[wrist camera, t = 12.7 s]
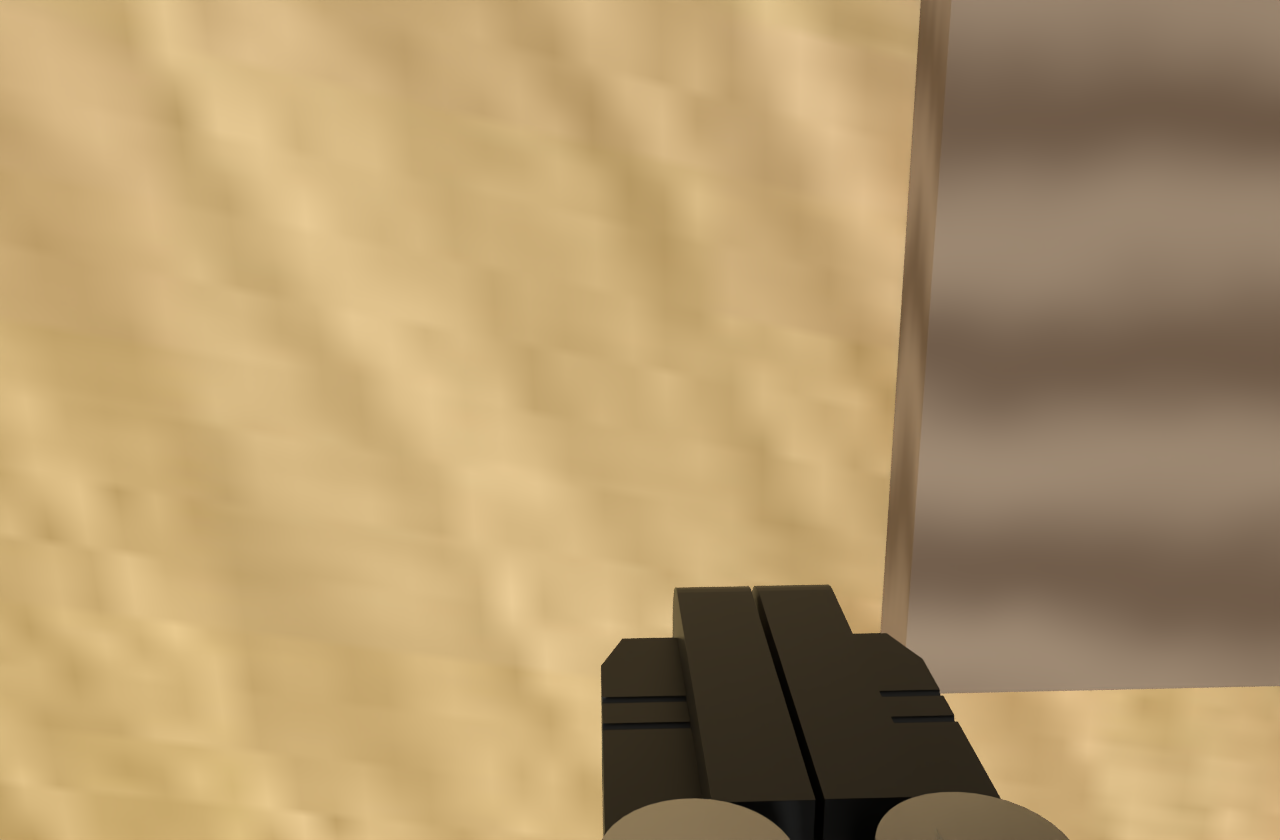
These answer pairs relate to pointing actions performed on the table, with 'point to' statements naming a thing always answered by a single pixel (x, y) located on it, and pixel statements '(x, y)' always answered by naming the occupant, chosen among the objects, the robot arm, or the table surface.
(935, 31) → the deck
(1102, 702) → the table surface
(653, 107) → the table surface
